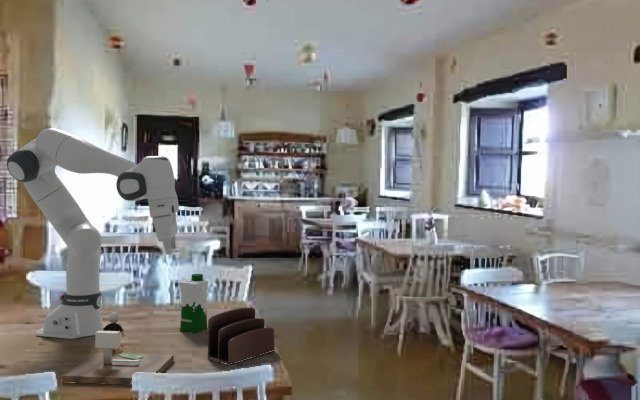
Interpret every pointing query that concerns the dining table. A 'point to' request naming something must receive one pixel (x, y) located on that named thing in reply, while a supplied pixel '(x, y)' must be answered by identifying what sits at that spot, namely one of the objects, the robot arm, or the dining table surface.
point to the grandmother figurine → (114, 328)
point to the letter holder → (238, 336)
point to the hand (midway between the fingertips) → (171, 251)
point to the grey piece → (109, 345)
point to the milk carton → (193, 304)
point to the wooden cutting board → (117, 368)
